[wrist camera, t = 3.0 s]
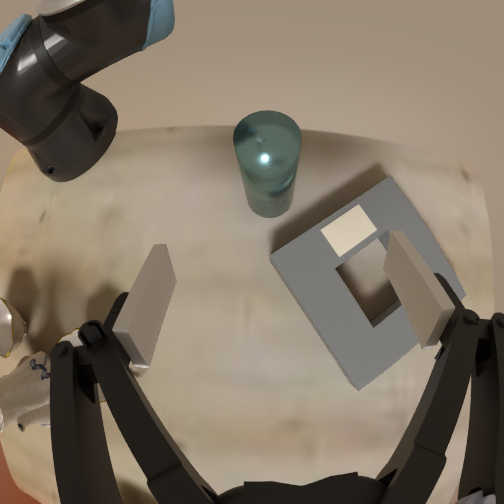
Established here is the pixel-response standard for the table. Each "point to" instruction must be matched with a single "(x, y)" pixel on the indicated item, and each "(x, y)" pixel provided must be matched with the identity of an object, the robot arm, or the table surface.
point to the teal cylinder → (268, 160)
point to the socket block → (336, 292)
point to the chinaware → (26, 375)
